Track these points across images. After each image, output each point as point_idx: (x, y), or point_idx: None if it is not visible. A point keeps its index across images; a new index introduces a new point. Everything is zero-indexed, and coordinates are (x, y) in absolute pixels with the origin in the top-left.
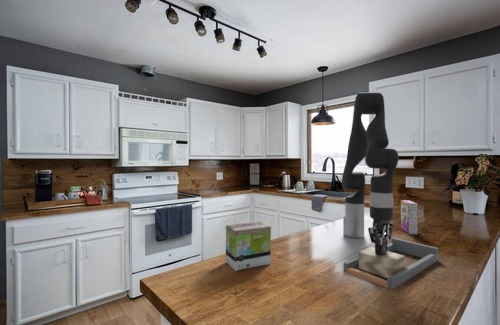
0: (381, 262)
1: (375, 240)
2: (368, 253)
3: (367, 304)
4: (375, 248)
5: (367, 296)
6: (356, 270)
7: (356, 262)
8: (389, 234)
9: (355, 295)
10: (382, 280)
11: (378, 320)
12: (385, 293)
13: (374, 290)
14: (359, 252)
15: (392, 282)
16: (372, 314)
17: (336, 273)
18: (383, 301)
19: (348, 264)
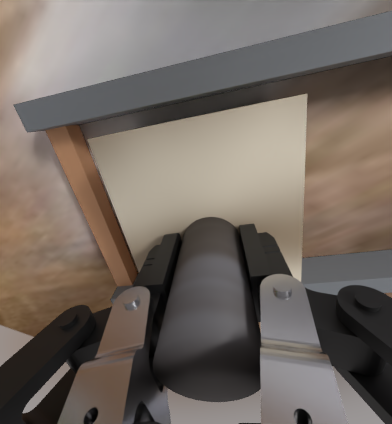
0: None
1: (71, 366)
2: (134, 201)
3: (15, 293)
4: (142, 269)
5: (35, 275)
6: (76, 173)
7: (124, 111)
8: (378, 413)
9: (4, 259)
10: (115, 272)
11: (7, 327)
12: (94, 287)
13: (75, 266)
14: (91, 147)
15: None
16: (5, 315)
17: (3, 112)
18: (61, 302)
19: (43, 129)
